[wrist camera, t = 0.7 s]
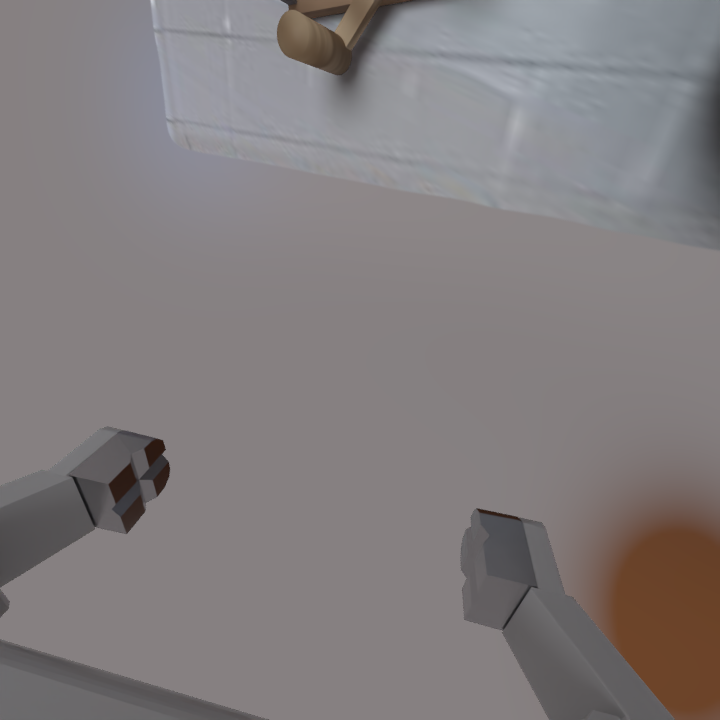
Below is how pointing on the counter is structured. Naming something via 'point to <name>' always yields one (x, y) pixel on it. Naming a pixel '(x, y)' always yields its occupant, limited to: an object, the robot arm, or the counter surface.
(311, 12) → the stool
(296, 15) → the leg
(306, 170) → the counter surface
